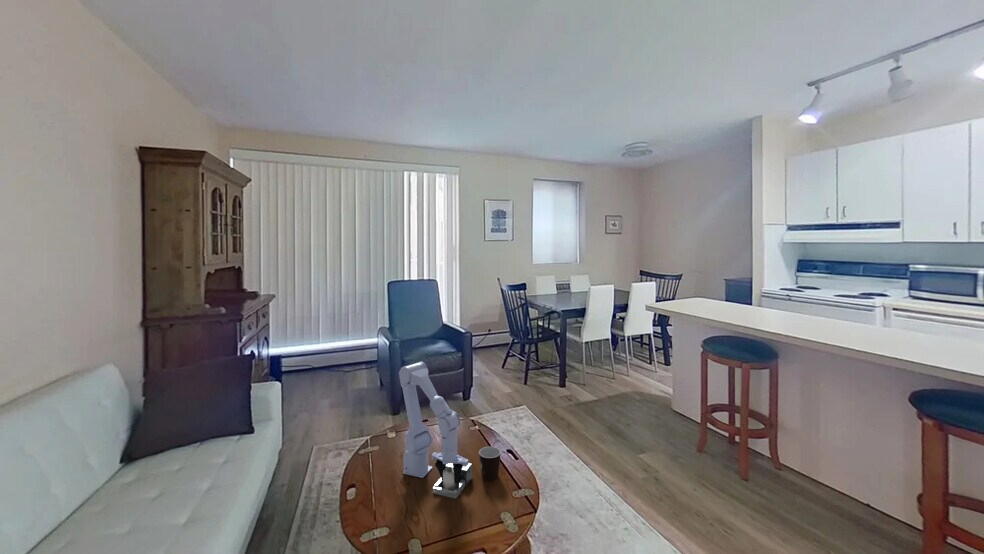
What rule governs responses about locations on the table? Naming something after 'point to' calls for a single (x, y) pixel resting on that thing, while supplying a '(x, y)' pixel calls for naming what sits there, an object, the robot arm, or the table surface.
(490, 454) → the coffee mug
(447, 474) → the white bottle
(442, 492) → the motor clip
